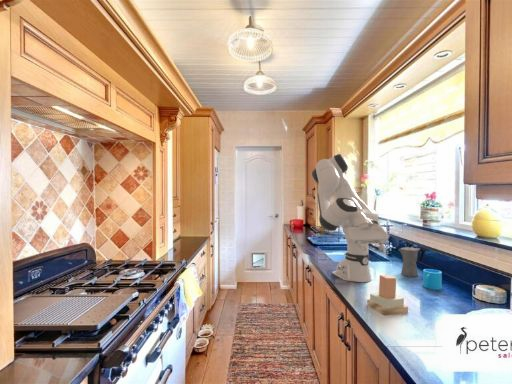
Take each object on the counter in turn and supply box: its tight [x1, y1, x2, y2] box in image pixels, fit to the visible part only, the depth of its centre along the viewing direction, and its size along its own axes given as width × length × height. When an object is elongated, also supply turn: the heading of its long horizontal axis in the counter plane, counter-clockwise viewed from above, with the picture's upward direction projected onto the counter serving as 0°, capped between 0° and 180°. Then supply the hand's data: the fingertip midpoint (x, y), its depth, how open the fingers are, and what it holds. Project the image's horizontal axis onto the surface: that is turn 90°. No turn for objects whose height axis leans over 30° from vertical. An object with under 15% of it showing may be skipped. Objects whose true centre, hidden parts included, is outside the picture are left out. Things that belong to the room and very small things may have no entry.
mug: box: [422, 268, 443, 291], centre depth 151 cm, size 12×8×8 cm
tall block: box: [378, 274, 397, 298], centre depth 123 cm, size 4×4×8 cm
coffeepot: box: [398, 243, 426, 278], centre depth 175 cm, size 15×9×18 cm, turn 90°
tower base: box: [366, 298, 409, 316], centre depth 123 cm, size 11×11×3 cm
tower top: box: [369, 292, 405, 309], centre depth 123 cm, size 9×9×3 cm
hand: (373, 250), depth 132 cm, fingers open, 8 cm apart
